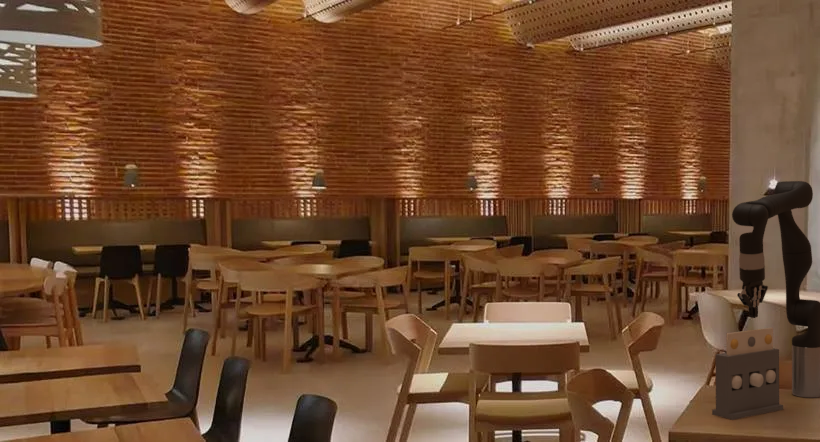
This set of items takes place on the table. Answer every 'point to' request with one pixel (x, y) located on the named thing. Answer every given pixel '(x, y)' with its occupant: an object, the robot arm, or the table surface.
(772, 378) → the button
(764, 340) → the card
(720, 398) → the button panel
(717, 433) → the table surface
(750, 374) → the middle button
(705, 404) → the table surface
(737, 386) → the button
